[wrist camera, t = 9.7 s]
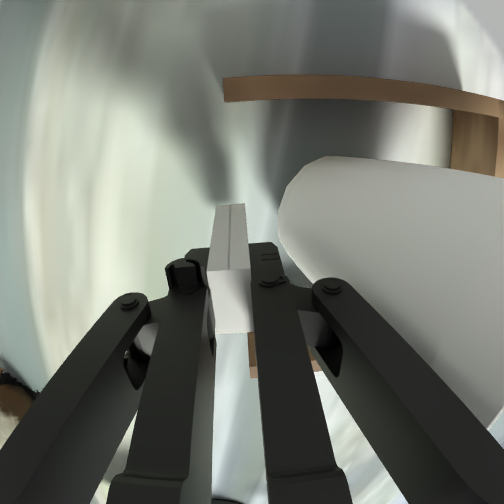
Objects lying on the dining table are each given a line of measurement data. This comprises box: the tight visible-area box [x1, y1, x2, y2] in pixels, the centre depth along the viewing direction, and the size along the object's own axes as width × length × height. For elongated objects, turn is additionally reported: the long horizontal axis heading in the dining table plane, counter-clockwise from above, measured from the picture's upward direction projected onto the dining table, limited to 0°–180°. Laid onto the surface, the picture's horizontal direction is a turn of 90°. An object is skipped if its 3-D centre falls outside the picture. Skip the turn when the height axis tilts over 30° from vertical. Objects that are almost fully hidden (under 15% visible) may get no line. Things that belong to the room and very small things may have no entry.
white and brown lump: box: [0, 367, 40, 449], centre depth 25 cm, size 12×10×10 cm
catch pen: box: [223, 75, 504, 378], centre depth 17 cm, size 16×15×4 cm
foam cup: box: [277, 156, 504, 430], centre depth 12 cm, size 10×9×13 cm
